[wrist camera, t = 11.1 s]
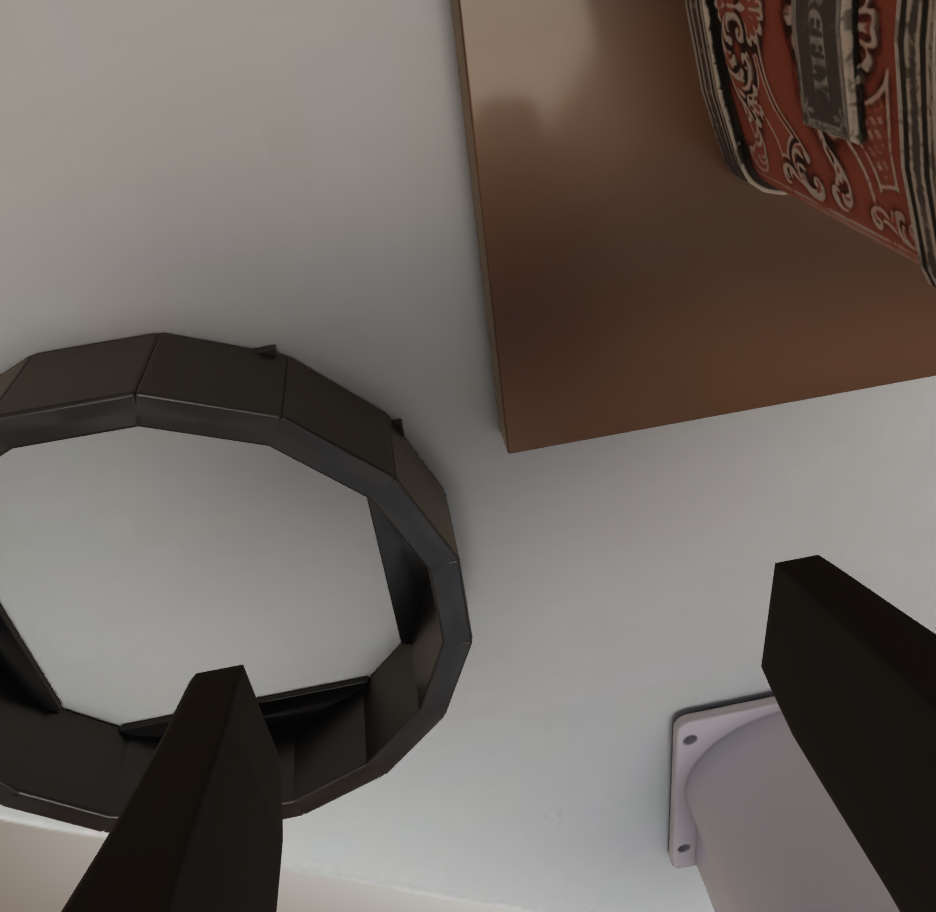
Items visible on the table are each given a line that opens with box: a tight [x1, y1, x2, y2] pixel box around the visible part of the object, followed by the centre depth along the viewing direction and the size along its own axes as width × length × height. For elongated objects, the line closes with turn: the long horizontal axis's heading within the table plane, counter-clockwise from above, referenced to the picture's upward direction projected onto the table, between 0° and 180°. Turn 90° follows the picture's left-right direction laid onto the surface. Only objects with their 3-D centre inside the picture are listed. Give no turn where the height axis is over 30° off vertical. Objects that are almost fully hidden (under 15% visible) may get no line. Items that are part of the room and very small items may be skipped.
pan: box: [0, 333, 472, 832], centre depth 20 cm, size 19×22×3 cm
